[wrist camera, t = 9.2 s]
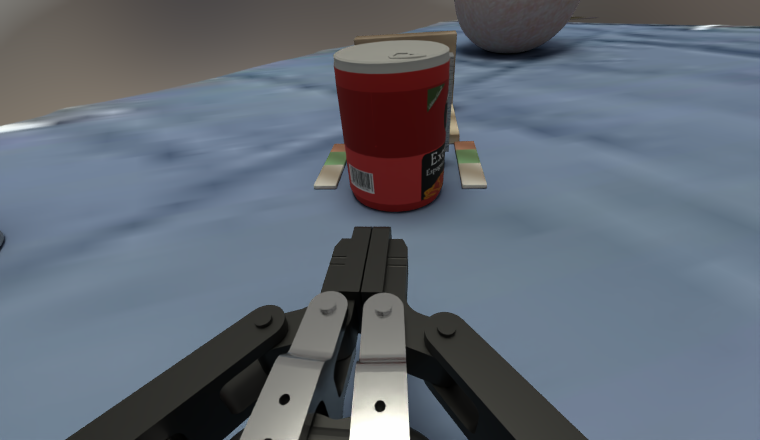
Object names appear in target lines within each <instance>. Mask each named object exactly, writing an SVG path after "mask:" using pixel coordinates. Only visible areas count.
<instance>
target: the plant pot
mask: <svg viewBox="0 0 760 440" xmlns="http://www.w3.org/2000/svg"><path fill="white" fill-rule="evenodd" d="M579 1H580V0H454V2H455V9H456V14H457V18H458V21H459V24H460V26H461V28H462V30H463V32H464V33H465V35H466V36H467V37H468V38H469V39H470V40H471V41H472V42H473V43H474V44H475V45H477V46H478V47H480V48H482V49H484V50H487V51H490V52H495V53H519V52H524V51H528V50H531V49H533V48H536V47H538V46H540V45H542V44H544V43H545V42H547V41H548V40H550V39H551V38H552V37H553V36H555V35H556V34H557V33H558V32H559V31H560V30H561V29H562V28H563V27H564V26H565V25H566V23H567V22H568V21H569V19H570V18H571V16H572V15H573V13H574V11H575V10H576V7H577V6H578V4H579Z"/></svg>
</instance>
